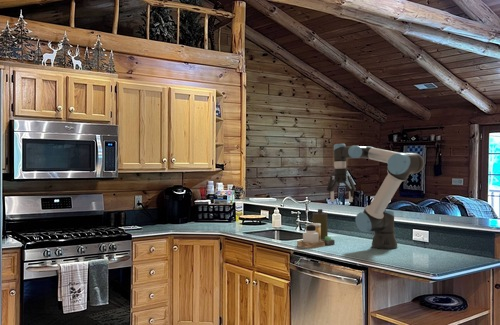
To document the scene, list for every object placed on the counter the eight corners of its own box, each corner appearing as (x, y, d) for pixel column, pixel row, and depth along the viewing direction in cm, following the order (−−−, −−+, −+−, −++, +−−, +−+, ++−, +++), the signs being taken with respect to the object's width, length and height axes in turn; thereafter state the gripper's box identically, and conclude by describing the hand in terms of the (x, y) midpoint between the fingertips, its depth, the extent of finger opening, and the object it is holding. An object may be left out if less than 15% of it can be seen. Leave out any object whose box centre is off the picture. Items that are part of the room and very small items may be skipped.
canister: (327, 239, 327) (327, 210, 327) (312, 239, 329) (311, 209, 330) (328, 237, 338) (328, 208, 338) (313, 237, 340) (313, 208, 340)
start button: (332, 243, 308) (332, 237, 308) (327, 243, 305) (327, 237, 305) (327, 242, 311) (327, 236, 311) (323, 243, 308) (323, 236, 308)
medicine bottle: (318, 244, 303) (318, 224, 303) (312, 245, 298) (312, 226, 298) (309, 243, 308) (309, 224, 308) (302, 244, 303) (302, 225, 303)
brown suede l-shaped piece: (334, 244, 307) (334, 224, 307) (310, 248, 294) (310, 227, 295) (316, 241, 320) (316, 222, 320) (293, 245, 307) (293, 225, 307)
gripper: (360, 167, 302) (362, 201, 302) (327, 168, 319) (328, 201, 319) (354, 167, 297) (355, 202, 296) (320, 168, 314) (321, 201, 313)
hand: (341, 201), depth 307 cm, fingers open, 13 cm apart
